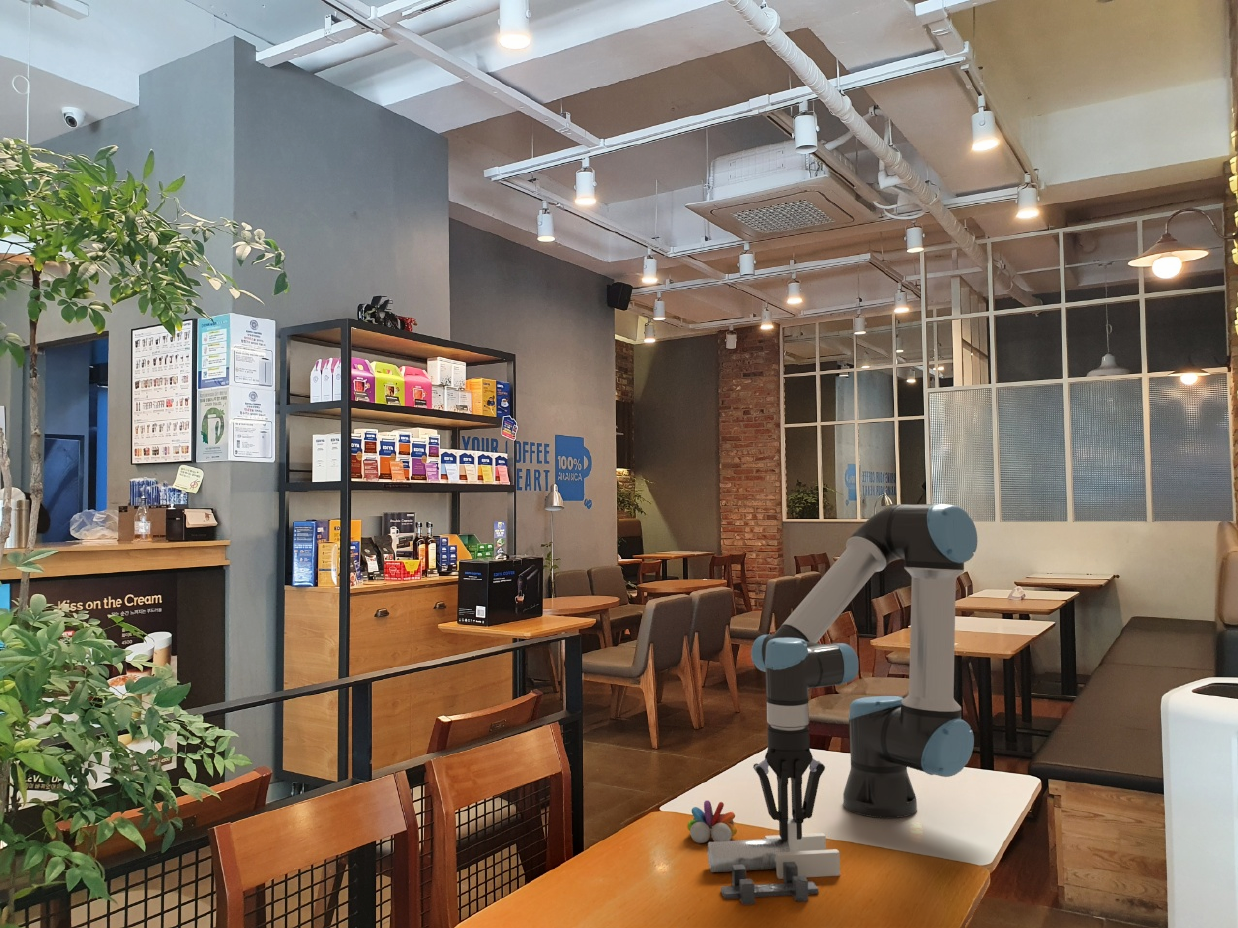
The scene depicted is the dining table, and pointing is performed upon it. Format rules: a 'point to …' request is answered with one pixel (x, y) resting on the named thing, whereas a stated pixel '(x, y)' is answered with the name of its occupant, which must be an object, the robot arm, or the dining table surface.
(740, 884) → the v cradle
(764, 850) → the axle
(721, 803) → the rainbow petal fan toy
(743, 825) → the dining table surface
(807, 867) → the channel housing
